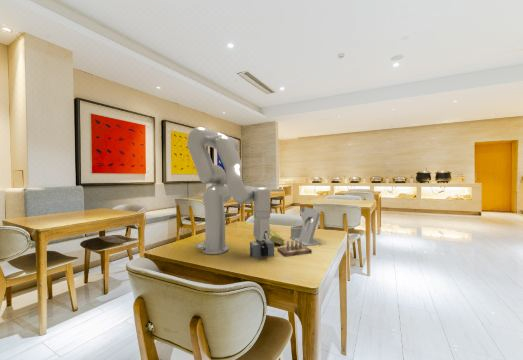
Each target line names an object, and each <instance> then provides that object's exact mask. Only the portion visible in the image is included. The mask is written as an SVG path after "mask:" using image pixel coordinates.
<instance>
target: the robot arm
mask: <svg viewBox="0 0 523 360" xmlns="http://www.w3.org/2000/svg"><path fill="white" fill-rule="evenodd" d="M186 142H187V149H188V152H189V153H190V154H189V155H190V156H191V160H192V161H193V164H194V167H195V170H196V173H197V176H198V179H199V181H200V182H201V183H203V184H205V185H210V184H211V185H210V186H208V187H207V188H206V189H205V190H204V191H203V193H202V199H203V205H204V221H205V222H204V223H205V224H204V225H205V226H204V227H205V231H204V232H205V236H204V237H205V240H204V241H202V242H201V243H199V242H197V243H195V249H197V248H198V249H201V252H202V253H203V254H206V255H220V254H221V255H222V254H224V253H226V252H228V251H229V245H227V244H226V210H225V206H224V204H226V203H228V202H229V201H230V200H231V199H232V200H234V202H235V203H237V204H238V205H244V204H248V203H251V202H253V229H252V231H253V234H252V235H253V237H254V238H255V241H261V244H262V247H261V256H268V244H269V239H270V230H271V228H270V219H271V189H270V188H269V187H266V186H250V185H249V186H248V185H247V186H246V185H245V183H244V181H243V178H242V174H241V173H242V172H241V170H242V167H243V162H242V160H241V157H240V155H239V153H238V151H239V148H240V146H239V142H238V140H237V139H236V138H234V137H231V136H229V135H225V134H224V133H220V132H218V131H216V130H213V129H210V128H208V127H204V126H203V127H202V126H196V127H194V128H193V129H191V131H190V132H189V133H188V135H187V141H186ZM206 147H210V148H213V149H215V150H216V152H217V154H218V156H219V158H220V160H221V163H222V165H223V167H222V166H220V165H218V164H214V163H213V160H212V158H211V155H210V153H209V151H208V150H207V148H206ZM223 168H224V169H223ZM263 239H265V240H263ZM263 242H264V244H263Z"/></svg>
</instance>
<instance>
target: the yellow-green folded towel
mask: <svg viewBox="0 0 523 360" xmlns="http://www.w3.org/2000/svg"><path fill="white" fill-rule="evenodd" d="M263 240H265V239H263ZM269 240H271V241H272V242H273V243H274V244H277V245H280V246H283V245H284V242H285V239H284V238H283V237H282V236H281V235H279V234H278V233H276V232H275V231H274V230H272V229H270V239H269Z"/></svg>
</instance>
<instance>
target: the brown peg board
mask: <svg viewBox="0 0 523 360" xmlns="http://www.w3.org/2000/svg"><path fill="white" fill-rule="evenodd" d="M276 251H277V252H278V253H279V254H280V255H282V256H283V257H285V258H286V257H293V256H300V255H308V254H312V249H311V248H309V247H308V246H304V245H302V240H299V243H298V240H295V241H294V240H290V241H289V240H287V241H286V246H284V247H277V249H276Z"/></svg>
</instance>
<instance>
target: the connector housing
mask: <svg viewBox="0 0 523 360" xmlns="http://www.w3.org/2000/svg"><path fill="white" fill-rule="evenodd" d="M263 244H264V242H263ZM261 247H262V244H261V241H256V240H254V241H250V242H249V255H250V256H251V257H252V259H253V260H254V259H262V258H269V257H275V242H272V241H271V240H269V244H268V256H261Z"/></svg>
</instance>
